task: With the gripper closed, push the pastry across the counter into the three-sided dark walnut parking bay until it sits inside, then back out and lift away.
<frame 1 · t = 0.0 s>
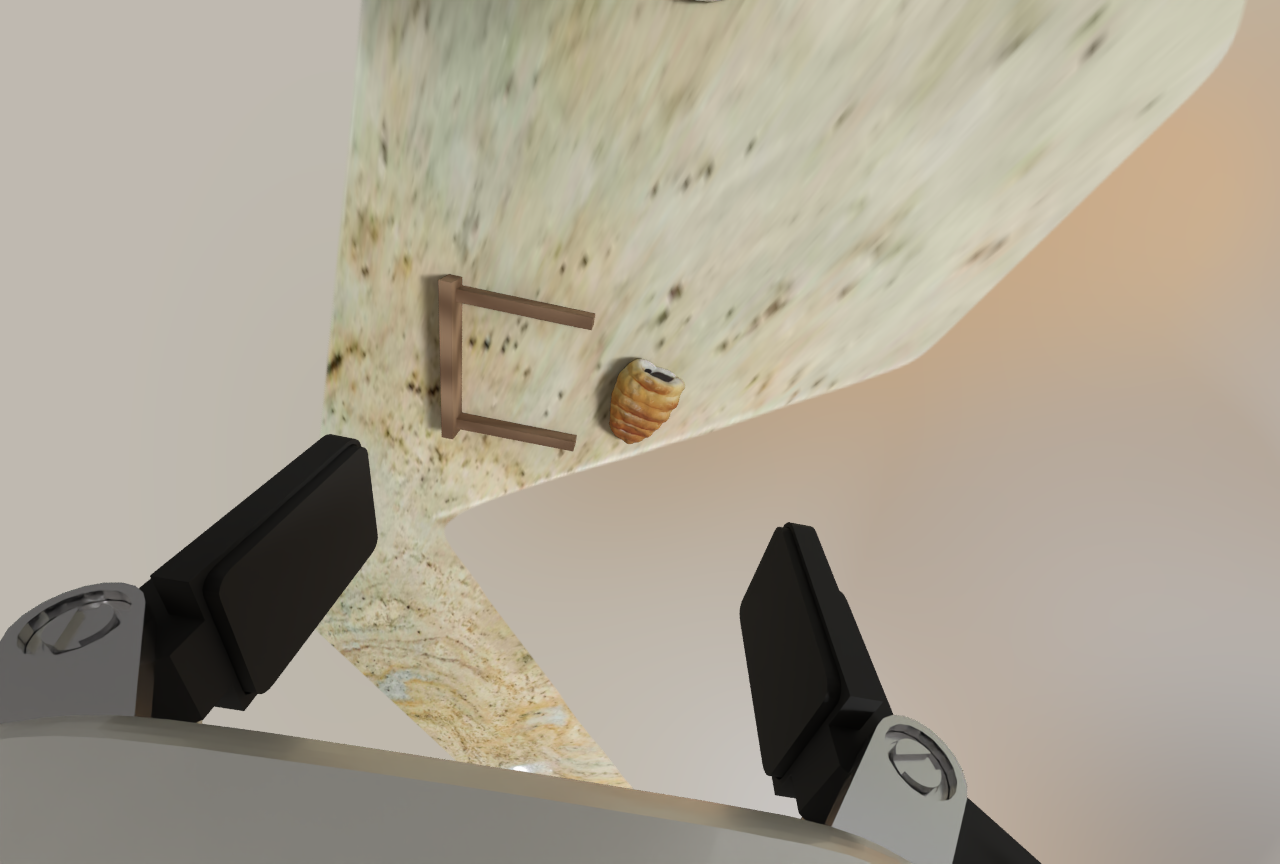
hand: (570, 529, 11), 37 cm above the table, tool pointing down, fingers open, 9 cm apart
bay: (523, 371, 49), on the table
pastry: (645, 394, 50), on the table
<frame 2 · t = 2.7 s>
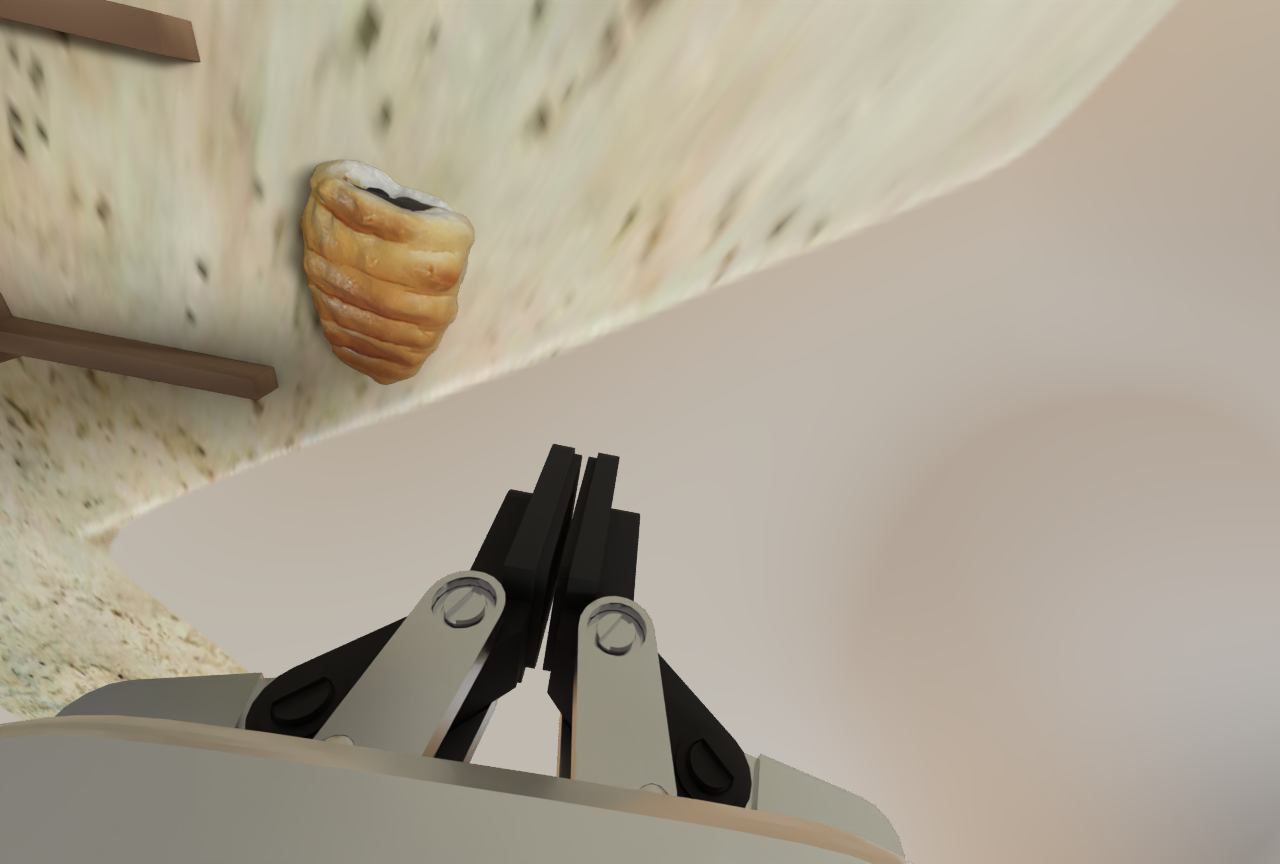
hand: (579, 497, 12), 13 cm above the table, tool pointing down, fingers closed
bay: (93, 207, 21), on the table
pastry: (406, 268, 22), on the table
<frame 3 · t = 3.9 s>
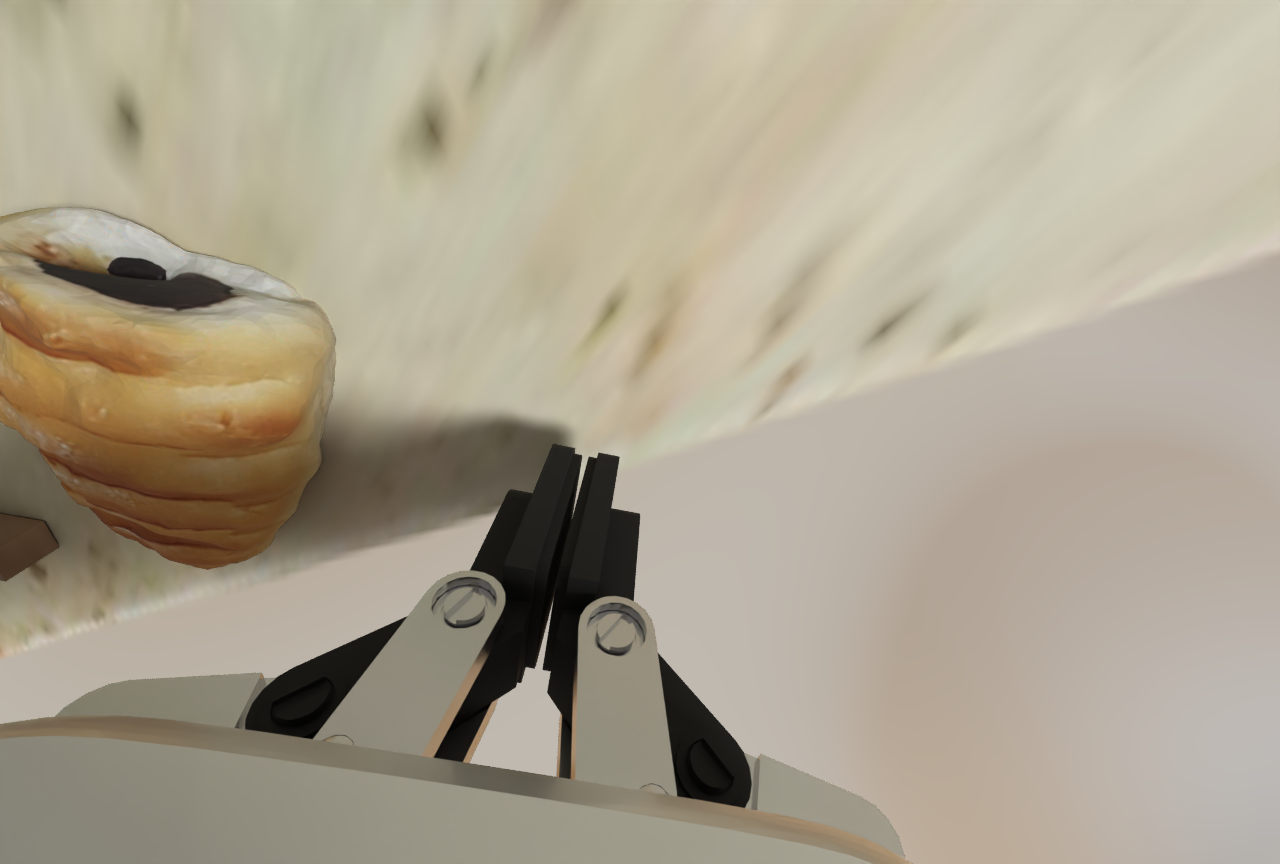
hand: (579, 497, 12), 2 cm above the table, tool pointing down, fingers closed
pastry: (238, 382, 13), on the table
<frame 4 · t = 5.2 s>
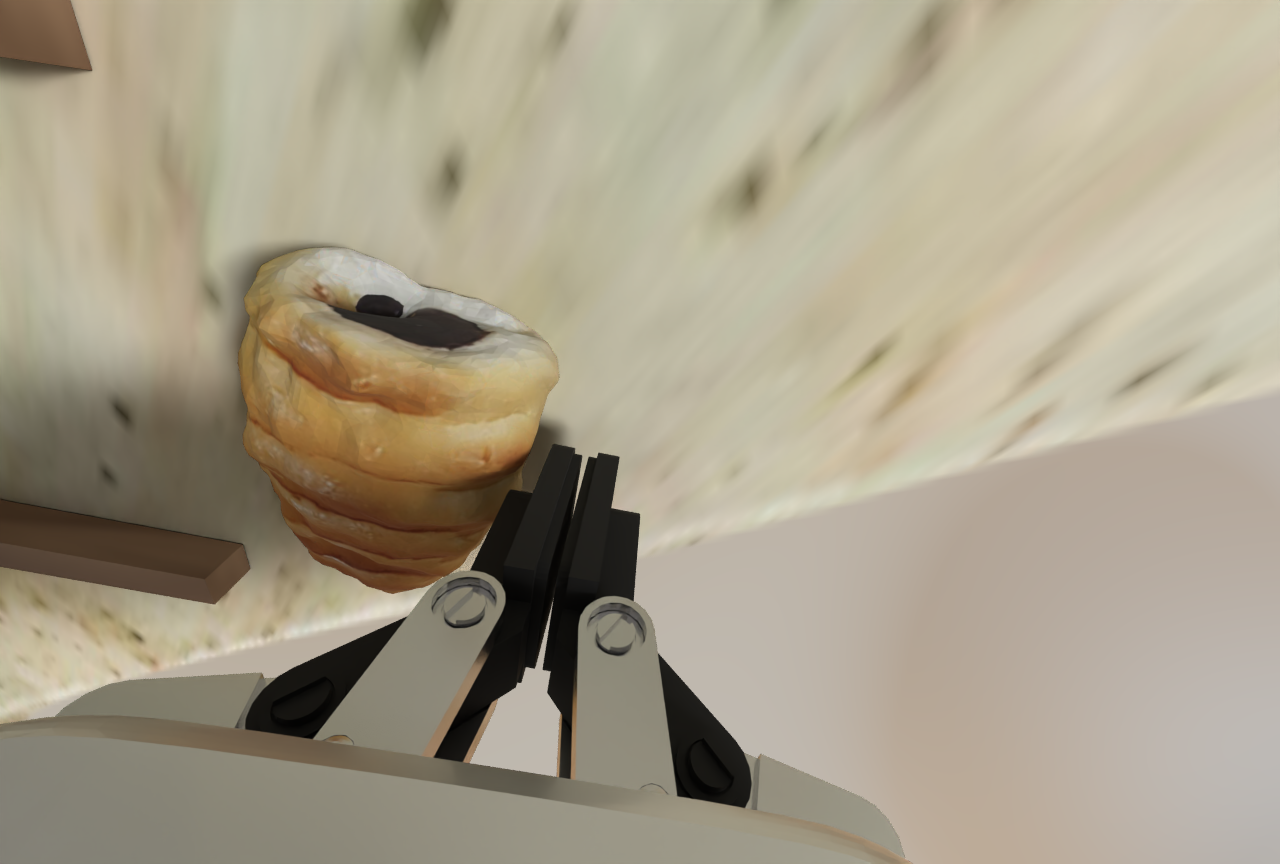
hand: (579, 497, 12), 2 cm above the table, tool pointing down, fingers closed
pastry: (431, 409, 13), on the table
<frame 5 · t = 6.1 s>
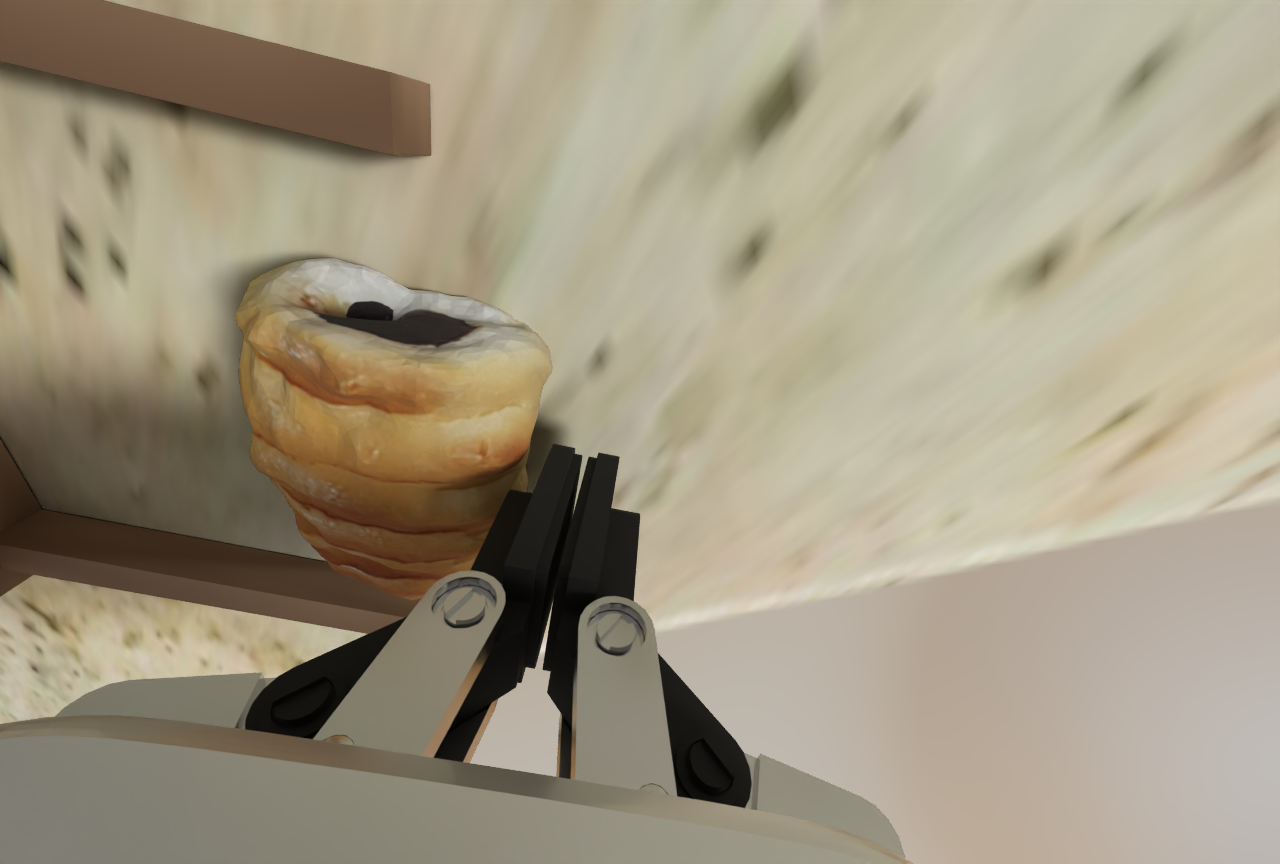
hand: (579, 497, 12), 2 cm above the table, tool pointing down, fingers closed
bay: (191, 373, 12), on the table
pastry: (434, 414, 13), on the table, touching gripper
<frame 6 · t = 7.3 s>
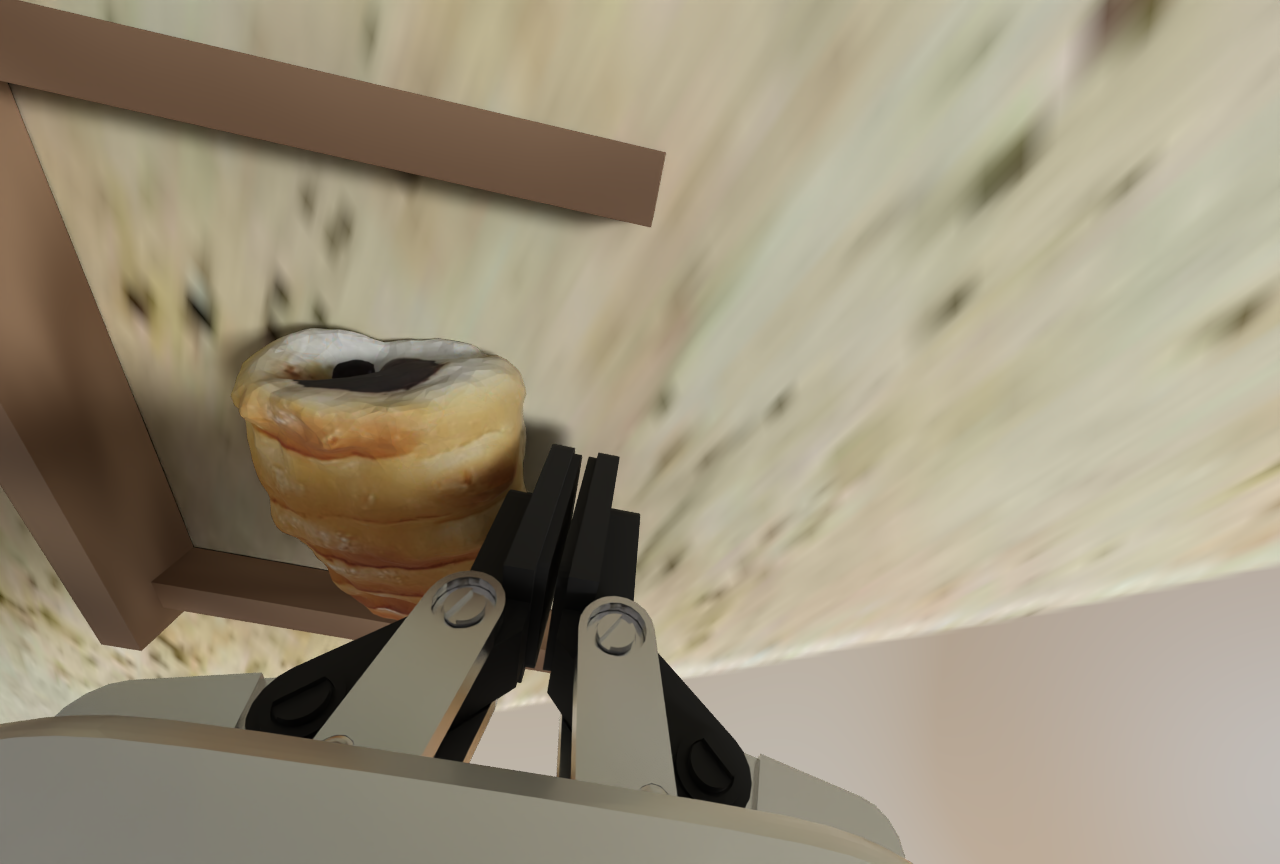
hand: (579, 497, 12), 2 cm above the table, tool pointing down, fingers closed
bay: (370, 420, 13), on the table
pastry: (437, 453, 14), on the table
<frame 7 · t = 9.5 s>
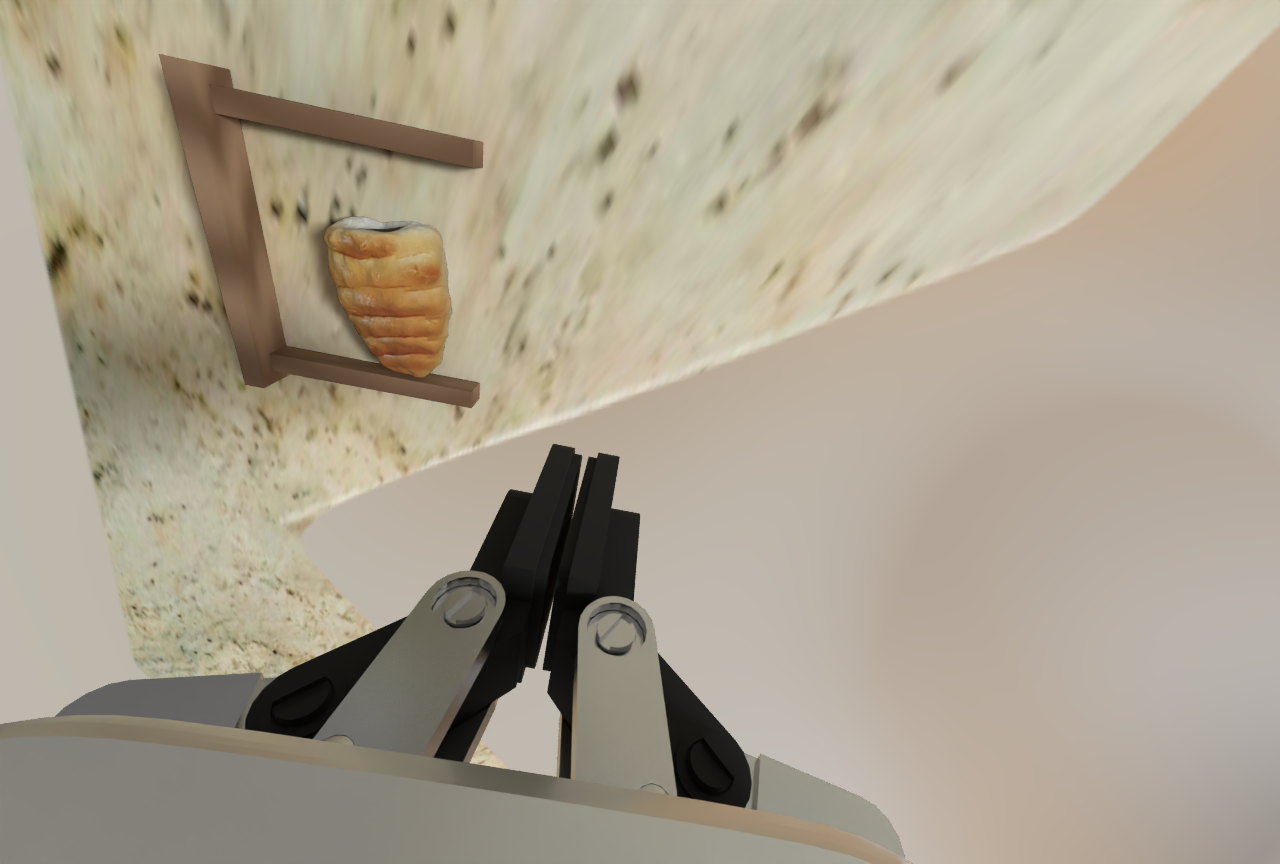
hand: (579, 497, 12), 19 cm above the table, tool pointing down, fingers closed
bay: (374, 266, 28), on the table
pastry: (410, 285, 29), on the table
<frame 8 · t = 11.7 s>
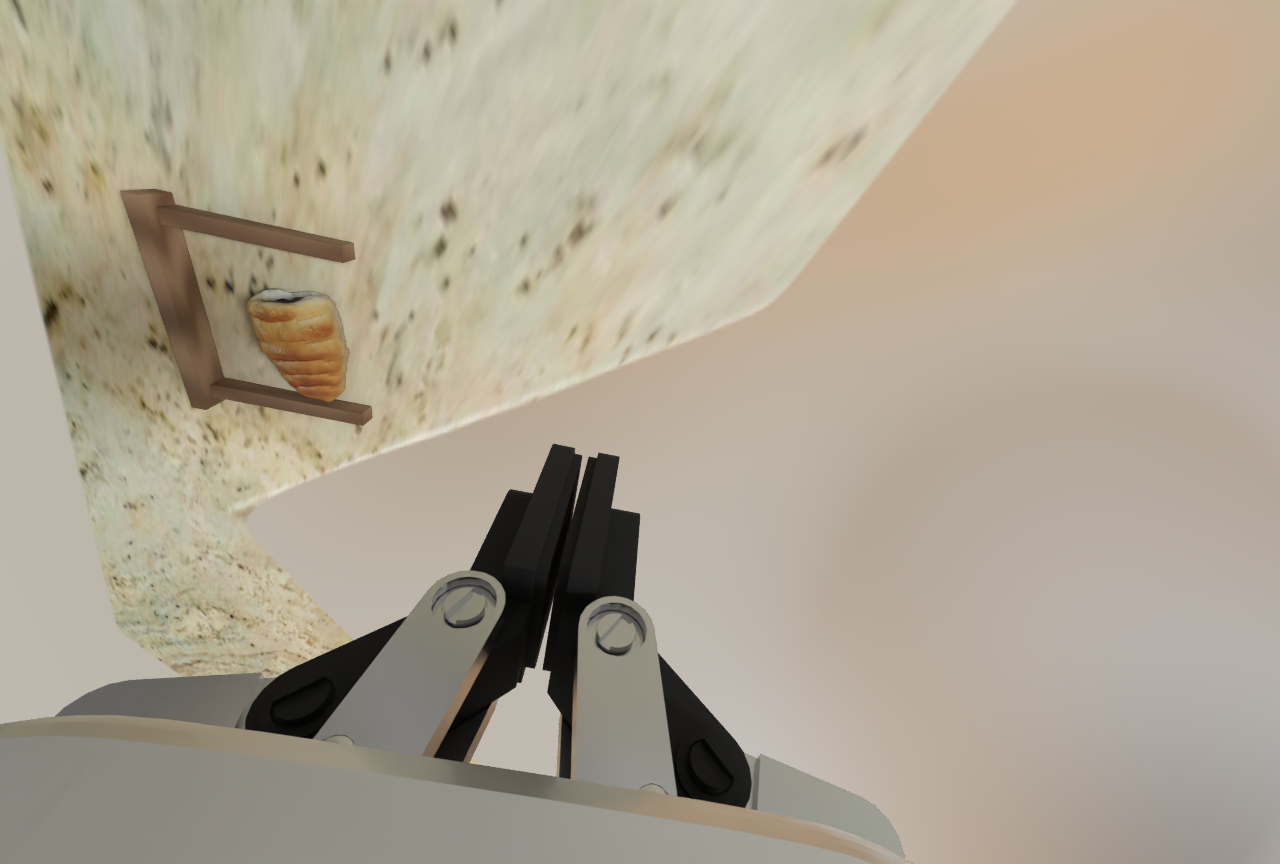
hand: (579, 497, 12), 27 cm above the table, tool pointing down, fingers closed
bay: (284, 322, 39), on the table
pastry: (318, 334, 40), on the table
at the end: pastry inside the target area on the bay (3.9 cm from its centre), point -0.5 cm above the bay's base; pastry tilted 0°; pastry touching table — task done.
